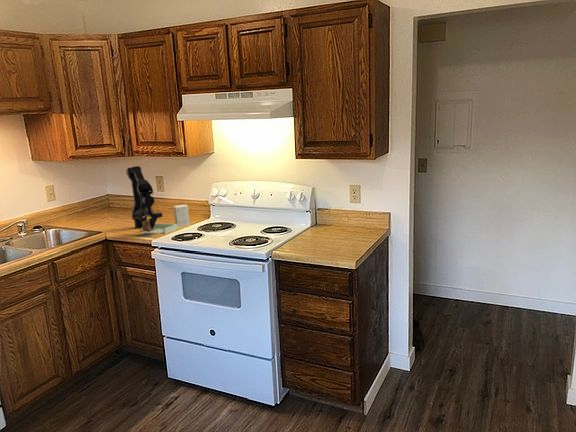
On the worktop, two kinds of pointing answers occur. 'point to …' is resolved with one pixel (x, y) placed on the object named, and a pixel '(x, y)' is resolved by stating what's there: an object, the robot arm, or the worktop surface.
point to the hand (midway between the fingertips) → (149, 228)
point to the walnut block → (147, 226)
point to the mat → (147, 234)
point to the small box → (181, 215)
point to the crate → (163, 228)
